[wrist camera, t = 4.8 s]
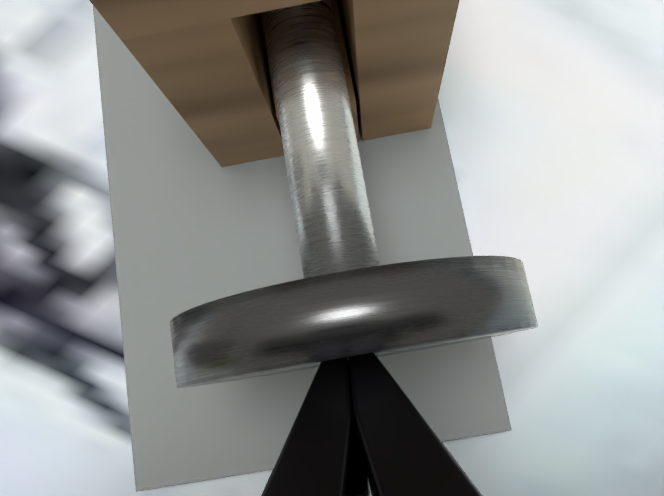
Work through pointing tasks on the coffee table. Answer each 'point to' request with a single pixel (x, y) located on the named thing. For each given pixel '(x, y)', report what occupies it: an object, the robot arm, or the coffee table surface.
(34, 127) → the coffee table surface
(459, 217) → the mat
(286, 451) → the robot arm
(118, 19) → the housing
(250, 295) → the plunger
